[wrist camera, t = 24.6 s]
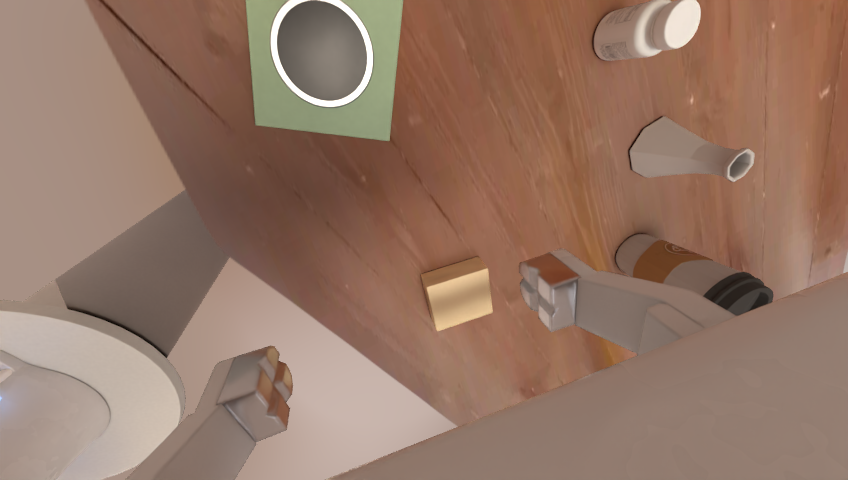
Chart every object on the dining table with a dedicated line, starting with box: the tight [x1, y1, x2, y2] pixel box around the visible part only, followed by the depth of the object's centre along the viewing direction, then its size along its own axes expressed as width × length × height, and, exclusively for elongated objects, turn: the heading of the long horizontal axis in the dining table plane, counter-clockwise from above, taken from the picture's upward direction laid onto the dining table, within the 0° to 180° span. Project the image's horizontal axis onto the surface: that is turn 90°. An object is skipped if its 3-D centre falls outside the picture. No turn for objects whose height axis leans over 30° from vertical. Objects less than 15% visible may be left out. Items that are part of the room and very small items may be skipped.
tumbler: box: [270, 0, 374, 108], centre depth 22 cm, size 9×6×6 cm
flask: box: [630, 116, 754, 182], centre depth 35 cm, size 7×7×10 cm
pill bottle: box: [594, 0, 701, 61], centre depth 28 cm, size 4×4×8 cm
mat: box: [246, 0, 403, 141], centre depth 26 cm, size 12×12×1 cm
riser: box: [421, 257, 493, 331], centre depth 40 cm, size 8×8×3 cm
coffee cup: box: [616, 234, 773, 316], centre depth 41 cm, size 8×8×15 cm
